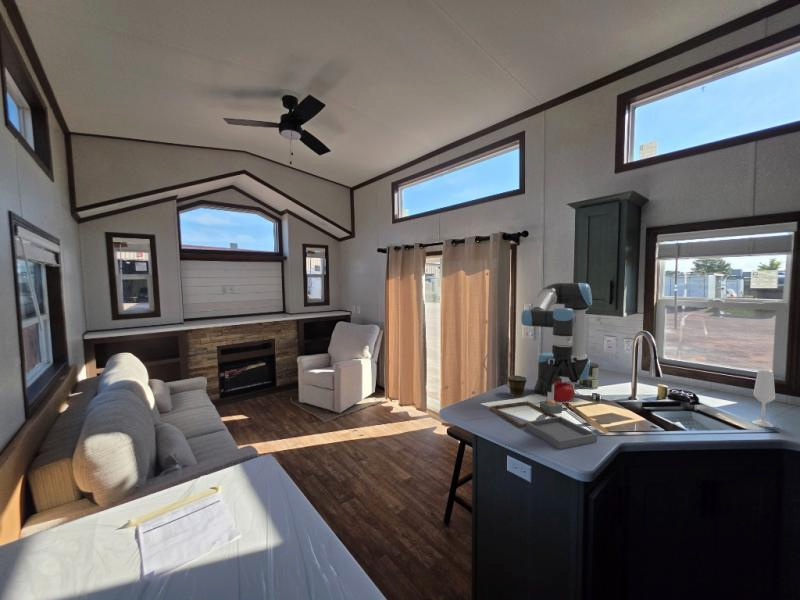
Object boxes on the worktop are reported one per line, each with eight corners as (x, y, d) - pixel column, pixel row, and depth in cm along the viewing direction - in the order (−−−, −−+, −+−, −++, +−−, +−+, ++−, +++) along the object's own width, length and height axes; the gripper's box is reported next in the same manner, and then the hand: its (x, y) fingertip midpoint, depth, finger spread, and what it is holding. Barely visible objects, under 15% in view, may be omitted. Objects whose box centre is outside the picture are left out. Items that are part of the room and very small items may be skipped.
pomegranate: (579, 404, 133) (580, 381, 132) (557, 405, 131) (558, 382, 131) (563, 395, 143) (564, 374, 142) (542, 396, 141) (543, 375, 140)
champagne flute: (775, 428, 145) (778, 374, 144) (752, 424, 149) (755, 371, 148) (772, 423, 150) (775, 371, 149) (750, 419, 154) (753, 369, 153)
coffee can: (583, 388, 199) (583, 365, 198) (576, 383, 209) (576, 361, 208) (601, 389, 197) (602, 366, 197) (593, 384, 208) (594, 362, 207)
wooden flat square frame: (527, 404, 173) (527, 401, 173) (561, 421, 151) (561, 418, 151) (489, 409, 166) (490, 406, 166) (520, 428, 144) (520, 424, 144)
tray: (559, 422, 150) (560, 416, 150) (596, 441, 132) (597, 434, 132) (525, 428, 144) (525, 421, 144) (559, 449, 126) (559, 441, 126)
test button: (550, 406, 166) (551, 398, 166) (557, 409, 162) (557, 401, 162) (544, 407, 165) (544, 399, 165) (550, 410, 161) (550, 402, 161)
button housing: (550, 407, 168) (551, 400, 168) (561, 412, 162) (561, 404, 161) (539, 409, 166) (540, 401, 166) (550, 414, 159) (550, 406, 159)
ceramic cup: (518, 391, 193) (518, 374, 193) (530, 397, 184) (530, 379, 184) (499, 393, 189) (499, 376, 189) (510, 399, 180) (510, 381, 179)
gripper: (547, 348, 129) (545, 404, 130) (590, 345, 136) (589, 398, 137) (533, 345, 136) (532, 398, 137) (575, 342, 143) (574, 392, 144)
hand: (560, 398), depth 137 cm, fingers closed on pomegranate, 10 cm apart
